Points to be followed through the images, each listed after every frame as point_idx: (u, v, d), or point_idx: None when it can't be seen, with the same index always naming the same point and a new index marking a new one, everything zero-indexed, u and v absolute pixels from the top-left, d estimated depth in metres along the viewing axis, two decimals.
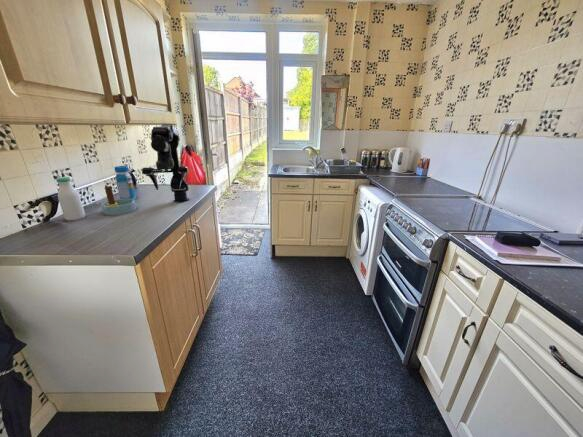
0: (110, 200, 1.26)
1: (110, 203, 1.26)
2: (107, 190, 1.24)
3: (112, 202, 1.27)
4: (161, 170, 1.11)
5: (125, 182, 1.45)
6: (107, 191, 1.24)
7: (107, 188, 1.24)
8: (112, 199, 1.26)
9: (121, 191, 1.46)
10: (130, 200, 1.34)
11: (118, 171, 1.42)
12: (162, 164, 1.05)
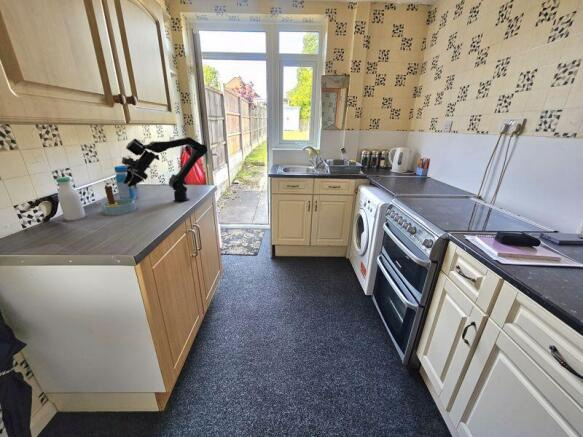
0: (110, 200, 1.26)
1: (110, 203, 1.26)
2: (107, 190, 1.24)
3: (112, 202, 1.27)
4: (132, 169, 1.30)
5: None
6: (107, 191, 1.24)
7: (107, 188, 1.24)
8: (112, 199, 1.26)
9: (121, 191, 1.46)
10: (130, 200, 1.34)
11: (118, 171, 1.42)
12: (123, 158, 1.24)
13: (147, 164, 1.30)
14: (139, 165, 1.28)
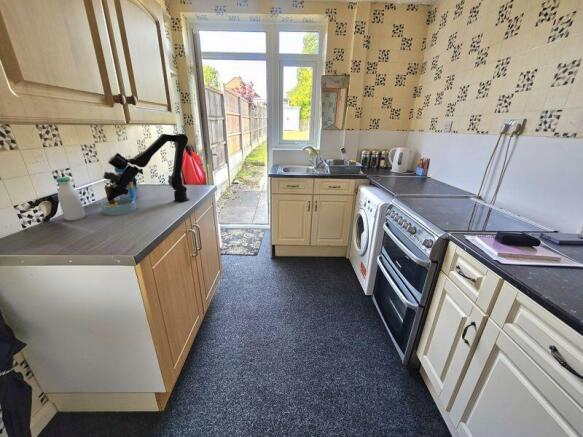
0: (110, 200, 1.26)
1: (110, 203, 1.26)
2: (107, 190, 1.24)
3: (112, 202, 1.27)
4: None
5: None
6: (107, 191, 1.24)
7: (107, 188, 1.24)
8: (112, 199, 1.26)
9: None
10: (130, 200, 1.34)
11: (118, 171, 1.42)
12: (104, 173, 1.22)
13: (130, 179, 1.28)
14: (121, 180, 1.26)
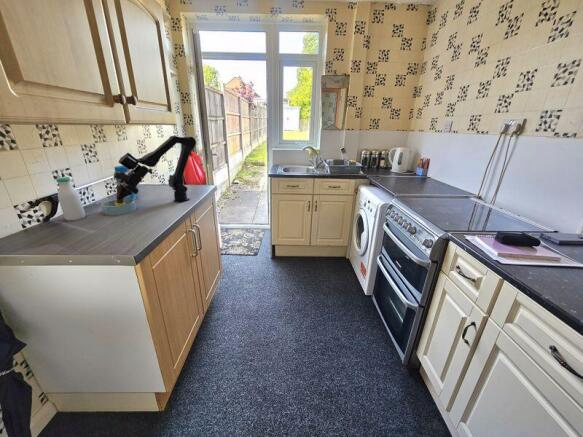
0: None
1: (118, 202, 1.27)
2: (119, 189, 1.25)
3: (120, 201, 1.27)
4: None
5: None
6: (118, 190, 1.25)
7: (119, 187, 1.25)
8: None
9: None
10: (130, 200, 1.34)
11: (118, 171, 1.42)
12: (115, 172, 1.23)
13: (139, 178, 1.29)
14: (131, 179, 1.27)
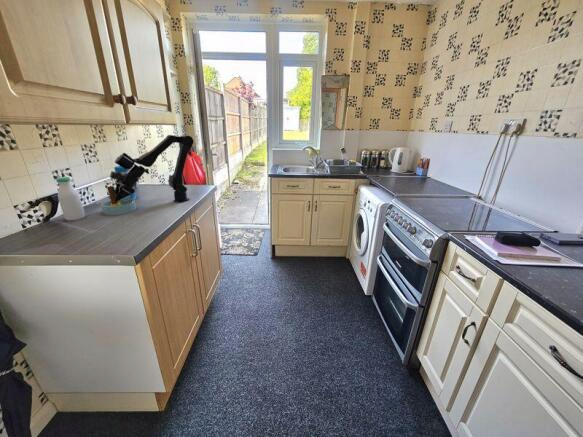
0: (113, 200, 1.26)
1: (113, 203, 1.26)
2: (110, 190, 1.24)
3: (115, 202, 1.26)
4: (121, 183, 1.29)
5: None
6: (109, 191, 1.24)
7: (109, 188, 1.24)
8: None
9: None
10: (130, 200, 1.34)
11: (118, 171, 1.42)
12: (111, 172, 1.23)
13: (136, 178, 1.29)
14: (127, 179, 1.26)
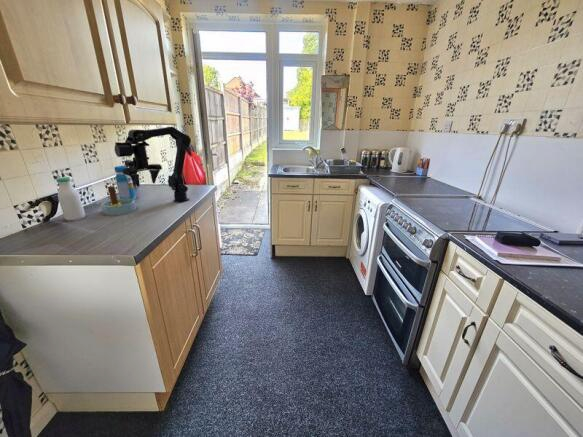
0: (113, 200, 1.26)
1: (113, 203, 1.26)
2: (110, 190, 1.24)
3: (115, 202, 1.27)
4: (143, 168, 1.31)
5: (125, 182, 1.45)
6: (110, 191, 1.24)
7: (110, 188, 1.24)
8: (115, 199, 1.26)
9: (121, 191, 1.46)
10: (130, 200, 1.34)
11: (118, 171, 1.42)
12: None
13: (137, 157, 1.24)
14: (135, 162, 1.26)
